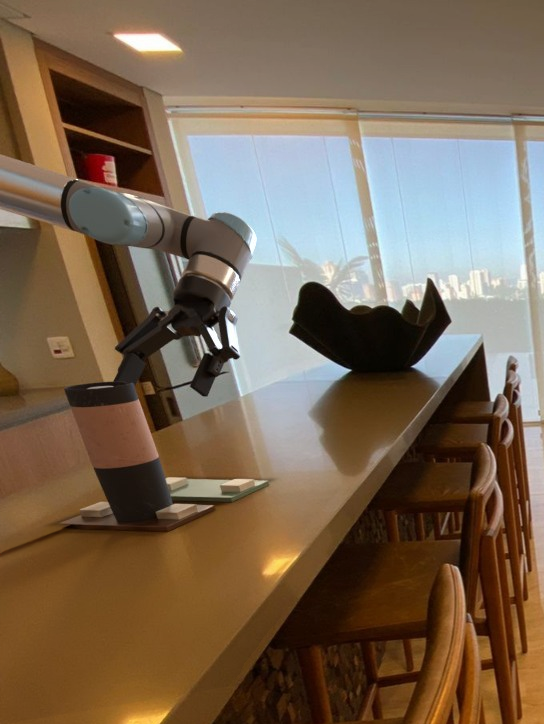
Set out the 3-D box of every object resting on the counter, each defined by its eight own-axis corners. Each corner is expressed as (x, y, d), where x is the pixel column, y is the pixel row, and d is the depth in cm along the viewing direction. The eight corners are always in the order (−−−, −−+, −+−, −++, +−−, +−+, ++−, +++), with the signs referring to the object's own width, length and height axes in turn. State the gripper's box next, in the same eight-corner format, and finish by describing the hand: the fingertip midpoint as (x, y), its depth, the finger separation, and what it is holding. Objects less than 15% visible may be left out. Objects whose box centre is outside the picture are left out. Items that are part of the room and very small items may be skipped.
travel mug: (102, 526, 84) (48, 391, 76) (129, 508, 91) (82, 382, 83) (163, 520, 86) (116, 387, 78) (185, 503, 93) (144, 379, 85)
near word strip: (59, 528, 85) (53, 516, 85) (115, 506, 94) (111, 495, 93) (168, 531, 84) (163, 519, 83) (215, 509, 92) (212, 498, 91)
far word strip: (135, 499, 97) (131, 488, 96) (179, 482, 105) (176, 472, 104) (232, 502, 95) (228, 490, 95) (269, 484, 104) (266, 474, 103)
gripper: (287, 305, 101) (248, 405, 93) (159, 306, 103) (110, 404, 95) (258, 272, 94) (213, 377, 86) (121, 274, 96) (65, 377, 88)
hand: (159, 391), depth 90 cm, fingers open, 13 cm apart
